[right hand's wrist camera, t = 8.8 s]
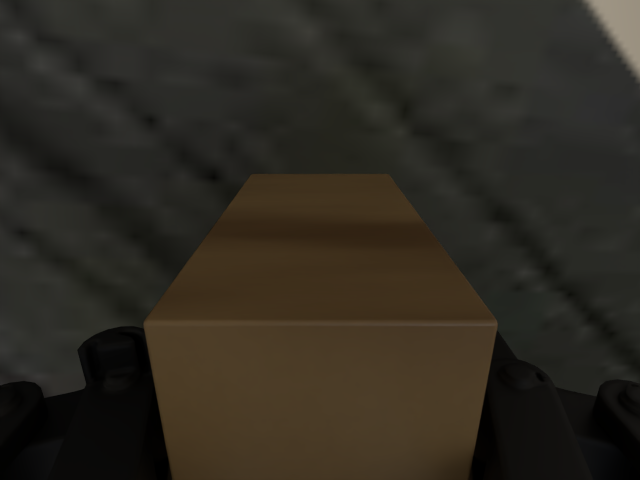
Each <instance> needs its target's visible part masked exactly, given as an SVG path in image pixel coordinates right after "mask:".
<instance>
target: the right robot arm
mask: <svg viewBox="0 0 640 480" xmlns="http://www.w3.org/2000/svg"><path fill="white" fill-rule="evenodd" d="M78 354H79V358H80V362H81V365H82V369H83V373H84V377H85V381H86V386H85V389H82V390H79V391H75V392H71V393H66V394H62V395H57V396H52V397H48V398H44V396H43V393H42V390H41V387H39V386H38V385H37V384H36V383H33V382H26V381H21V382H13V383H8V384H4V385H0V480H171V479H172V477H171V471H170V466H169V460H168V455H167V450H166V444H165V439H164V433H163V428H162V423H161V417H160V412H159V406H158V401H157V396H156V390H155V385H154V379H153V374H152V368H151V363H150V358H149V352H148V347H147V341H146V336H145V331H144V329H143V328H139V327H135V326H124V327H117V328H112V329H108V330H105V331H103V332H100V333H98V334H95V335H94V336H92V337H91V338H89V339H88V340H86V341H85V342H84V343H83V344H82V345H81V346H80V347H79V349H78ZM469 480H640V384H639V383H636V382H632V381H626V380H618V379H617V380H610V381H606V382H604V383H603V384H602V385H601V386H600V388H599V391H598V394H597V397H596V396H591V395H587V394H582V393H577V392H573V391H568V390H564V389H561V388H557V387H555V386H554V383H553V382H552V380H551V379H550V378H549V376H548V375H547V374H546V373H545V372H543V371H542V370H541V369H539V368H538V367H536V366H534V365H532V364H530V363H528V362H525V361H522V360H518V359H517V358H516V356H515V355H514V353H513V352H512V351H511V349H510V348H509V346H508V345H507V343H506V342H505V341H504V339H503V338H502V336H501V335H500V334H499V332H498V331H497V332H496V337H495V342H494V348H493V353H492V358H491V364H490V369H489V374H488V380H487V385H486V390H485V396H484V401H483V407H482V412H481V417H480V423H479V428H478V433H477V439H476V444H475V449H474V455H473V460H472V465H471V471H470V476H469Z"/></svg>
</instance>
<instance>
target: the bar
mask: <svg viewBox="0 0 640 480" xmlns="http://www.w3.org/2000/svg"><path fill="white" fill-rule="evenodd" d="M497 326H498V323H497V320H496V319H495V317H494V316H493V315H492V313H491V312H490V311H489V309H488V308H487V307H486V305H485V304H484V303H483V301H482V300H481V298H480V297H479V296H478V294H477V293H476V292H475V290H474V289H473V288H472V286H471V285H470V284H469V282H468V281H467V280H466V278H465V277H464V276H463V274H462V273H461V271H460V270H459V269H458V267H457V266H456V265H455V263H454V262H453V261H452V259H451V258H450V257H449V255H448V254H447V253H446V251H445V250H444V249H443V247H442V246H441V244H440V243H439V242H438V240H437V239H436V238H435V236H434V235H433V234H432V232H431V231H430V230H429V228H428V227H427V226H426V224H425V223H424V222H423V220H422V219H421V217H420V216H419V215H418V213H417V212H416V211H415V209H414V208H413V207H412V205H411V204H410V203H409V201H408V200H407V199H406V197H405V196H404V194H403V193H402V192H401V190H400V189H399V188H398V186H397V185H396V184H395V182H394V181H393V180H392V178H391V177H390V176H389V175H388V174H252V175H251V176H250V177H249V178H248V180H247V181H246V182H245V184H244V185H243V187H242V188H241V189H240V191H239V192H238V193H237V195H236V196H235V197H234V199H233V200H232V202H231V203H230V204H229V206H228V207H227V208H226V210H225V211H224V212H223V214H222V215H221V217H220V218H219V219H218V221H217V222H216V223H215V225H214V226H213V228H212V229H211V230H210V232H209V233H208V234H207V236H206V237H205V238H204V240H203V241H202V243H201V244H200V245H199V247H198V248H197V249H196V251H195V252H194V253H193V255H192V256H191V258H190V259H189V260H188V262H187V263H186V264H185V266H184V267H183V269H182V270H181V271H180V273H179V274H178V275H177V277H176V278H175V279H174V281H173V282H172V284H171V285H170V286H169V288H168V289H167V290H166V292H165V293H164V294H163V296H162V297H161V299H160V300H159V301H158V303H157V304H156V305H155V307H154V308H153V310H152V311H151V312H150V314H149V315H148V316H147V318H146V319H145V321H144V331H145V336H146V341H147V347H148V352H149V358H150V363H151V368H152V374H153V379H154V385H155V390H156V396H157V401H158V406H159V412H160V417H161V423H162V428H163V433H164V439H165V444H166V450H167V455H168V460H169V466H170V471H171V477H172V480H469V476H470V471H471V465H472V460H473V455H474V449H475V444H476V439H477V433H478V428H479V423H480V417H481V412H482V407H483V401H484V396H485V390H486V385H487V380H488V374H489V369H490V364H491V358H492V353H493V348H494V342H495V337H496V332H497Z"/></svg>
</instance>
